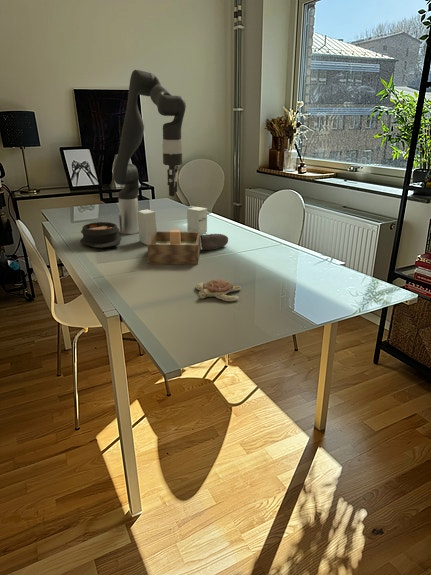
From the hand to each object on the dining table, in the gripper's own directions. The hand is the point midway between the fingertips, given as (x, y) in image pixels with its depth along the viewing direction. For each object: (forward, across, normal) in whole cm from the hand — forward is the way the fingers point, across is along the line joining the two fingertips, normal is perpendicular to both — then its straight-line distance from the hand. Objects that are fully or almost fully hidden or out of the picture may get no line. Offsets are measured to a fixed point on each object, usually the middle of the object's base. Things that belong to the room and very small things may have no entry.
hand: (173, 193), depth 169 cm
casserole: (+27, -16, -36) cm, 47 cm away
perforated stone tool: (+26, -11, +17) cm, 33 cm away
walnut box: (+26, +1, +1) cm, 26 cm away
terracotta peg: (+25, +1, +1) cm, 25 cm away
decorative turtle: (+26, +40, +19) cm, 52 cm away
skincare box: (+26, -18, -14) cm, 35 cm away
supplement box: (+26, -37, +7) cm, 46 cm away
